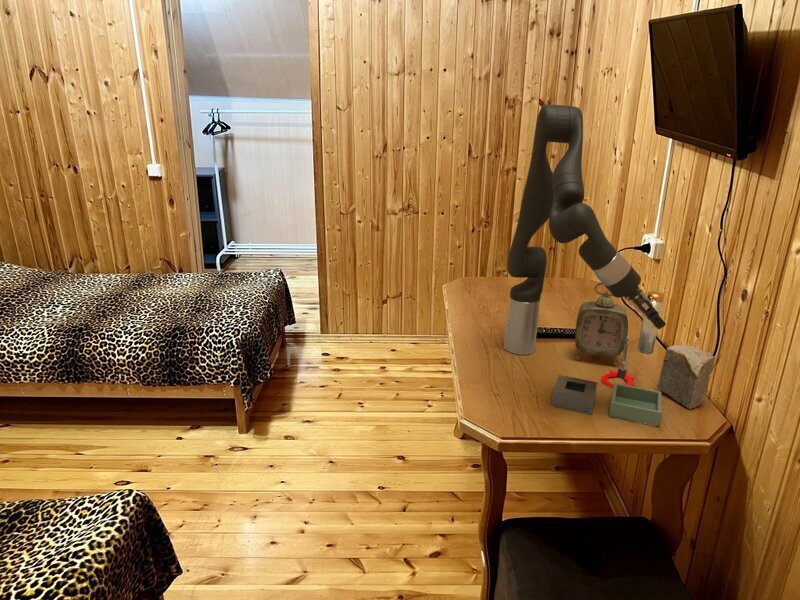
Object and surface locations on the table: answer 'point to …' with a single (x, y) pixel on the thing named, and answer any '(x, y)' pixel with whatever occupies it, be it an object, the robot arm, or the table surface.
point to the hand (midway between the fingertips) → (658, 323)
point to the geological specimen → (686, 374)
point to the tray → (636, 404)
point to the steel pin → (650, 325)
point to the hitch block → (574, 394)
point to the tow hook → (620, 369)
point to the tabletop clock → (601, 327)
